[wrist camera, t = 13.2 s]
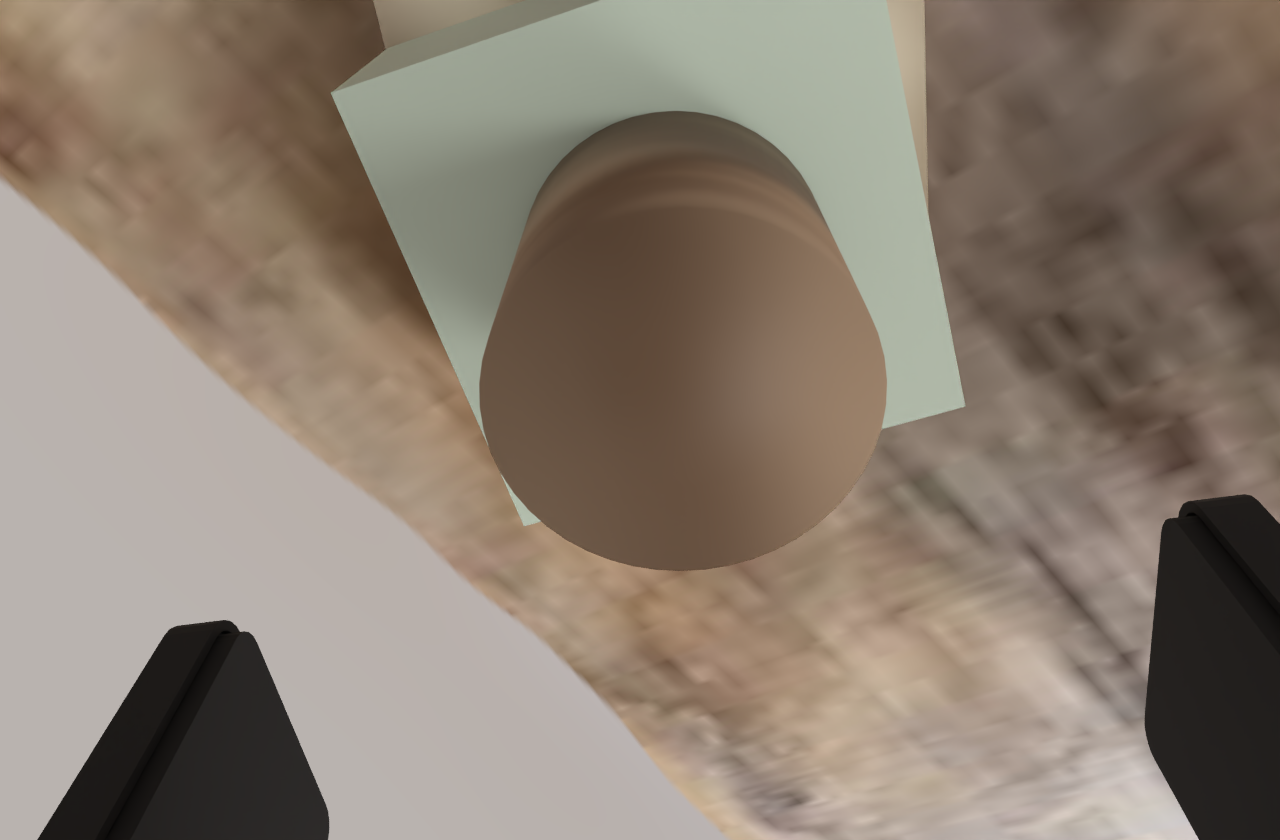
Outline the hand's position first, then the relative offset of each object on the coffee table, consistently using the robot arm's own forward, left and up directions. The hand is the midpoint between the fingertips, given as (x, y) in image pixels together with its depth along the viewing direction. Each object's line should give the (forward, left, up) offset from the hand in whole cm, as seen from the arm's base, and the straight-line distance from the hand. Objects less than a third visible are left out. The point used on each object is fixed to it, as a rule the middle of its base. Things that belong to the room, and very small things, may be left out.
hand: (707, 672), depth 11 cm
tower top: (0, 0, -16) cm, 16 cm away
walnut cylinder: (0, 0, -11) cm, 11 cm away
